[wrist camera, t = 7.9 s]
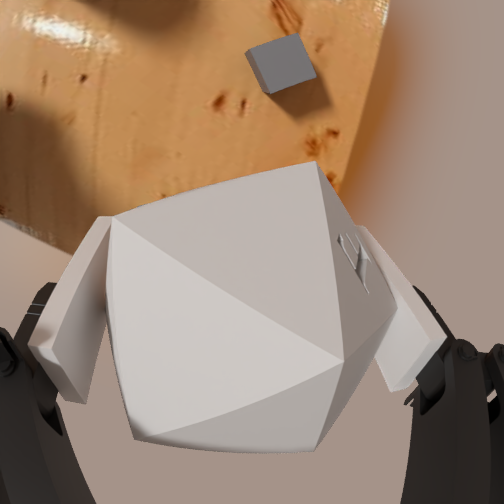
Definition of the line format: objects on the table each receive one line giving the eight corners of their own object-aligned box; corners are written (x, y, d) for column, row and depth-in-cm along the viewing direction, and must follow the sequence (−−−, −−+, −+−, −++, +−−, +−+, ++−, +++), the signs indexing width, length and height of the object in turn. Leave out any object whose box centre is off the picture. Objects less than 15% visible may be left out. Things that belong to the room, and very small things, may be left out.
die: (318, 303, 16) (488, 333, 7) (193, 413, 13) (274, 568, 4) (228, 170, 14) (362, 51, 5) (77, 281, 12) (-53, 323, 2)
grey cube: (262, 91, 29) (270, 93, 25) (244, 53, 27) (249, 49, 22) (302, 76, 29) (317, 77, 24) (286, 38, 26) (297, 32, 22)
